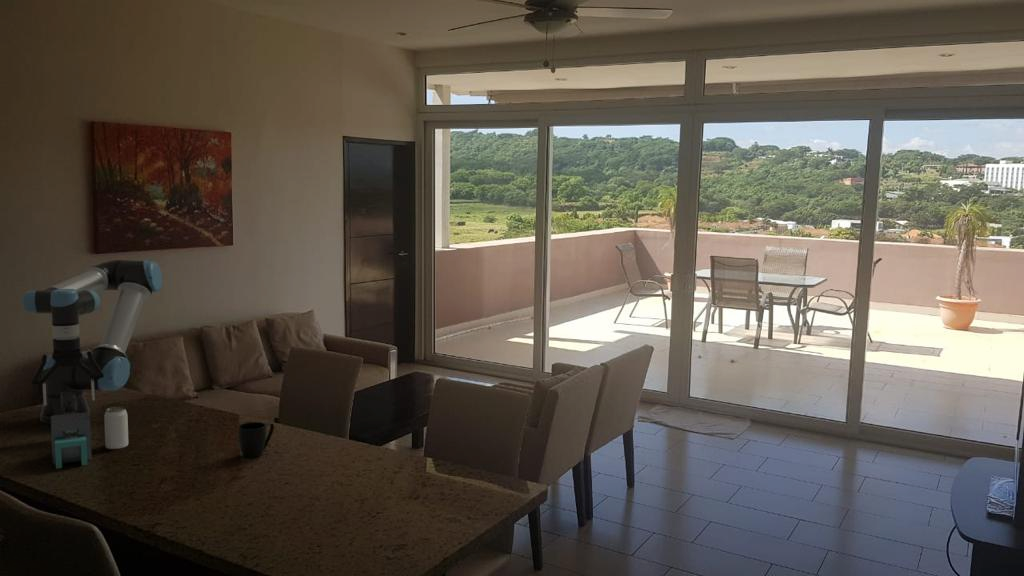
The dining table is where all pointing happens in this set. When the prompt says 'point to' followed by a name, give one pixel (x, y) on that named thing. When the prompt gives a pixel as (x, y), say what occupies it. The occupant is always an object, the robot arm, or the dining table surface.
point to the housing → (66, 424)
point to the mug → (253, 438)
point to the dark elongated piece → (69, 408)
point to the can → (116, 428)
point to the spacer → (70, 443)
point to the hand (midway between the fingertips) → (69, 402)
